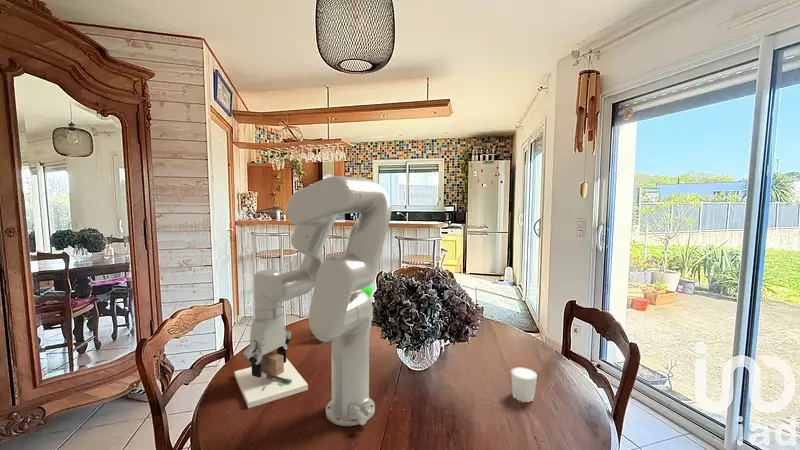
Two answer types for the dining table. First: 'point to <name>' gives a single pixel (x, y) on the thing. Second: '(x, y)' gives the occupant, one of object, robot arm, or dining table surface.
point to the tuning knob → (273, 366)
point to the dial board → (269, 385)
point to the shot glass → (523, 384)
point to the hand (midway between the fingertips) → (269, 368)
